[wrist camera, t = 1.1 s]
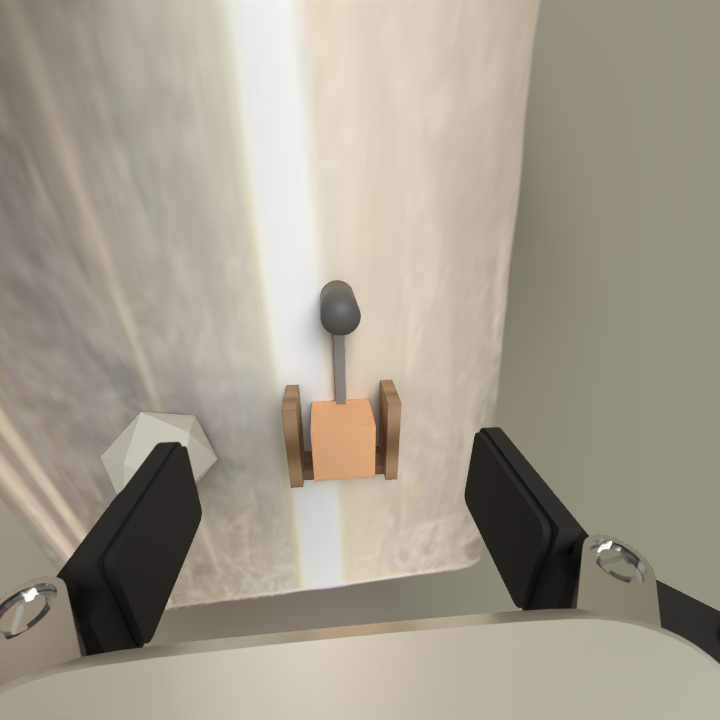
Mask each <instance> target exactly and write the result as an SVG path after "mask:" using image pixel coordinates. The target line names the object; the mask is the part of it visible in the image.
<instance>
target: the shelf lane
mask: <svg viewBox="0 0 720 720" xmlns="http://www.w3.org/2000/svg"><path fill="white" fill-rule="evenodd" d="M282 416H283V424H284V433H285V441H286V449H287V458H288V466H289V475H290V483H291V488H294V487H303V481H304V480H313V479H314V469H313V457H312V452H305V451H304V440H303V429H302V418H301V407H300V396H299V385H288V386H286V391H285V396H284V401H283V407H282ZM400 417H401V401H400V399H399V396H398V394H397V391H396V389H395V386H394V384H393V381H392V380H381V382H380V422H379V447H375V475H376V474H384V476H385V480H392V479H397V470H398V453H399V435H400Z"/></svg>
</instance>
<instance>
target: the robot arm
mask: <svg viewBox="0 0 720 720" xmlns="http://www.w3.org/2000/svg"><path fill="white" fill-rule="evenodd" d="M465 501H466V504H467V507H468V509H469V511H470V513H471V515H472V517H473V519H474V521H475V523H476V525H477V527H478V529H479V531H480V534H481V536H482V538H483V540H484V542H485V544H486V546H487V548H488V550H489V552H490V554H491V556H492V558H493V560H494V563H495V565H496V566H497V569H498V571H499V573H500V575H501V577H502V579H503V581H504V583H505V585H506V587H507V589H508V591H509V594H510V595H511V598H512V600H513V602H514V603H515V605H516V606H517V607H518V608H522V609H523V611H514V612H499V613H487V614H477V615H476V614H475V615H464V616H453V617H442V618H430V619H419V620H408V621H398V622H387V623H376V624H366V625H355V626H344V627H334V628H324V629H313V630H303V631H293V632H282V633H273V634H263V635H253V636H243V637H234V638H224V639H213V640H203V641H193V642H185V643H176V644H168V645H159V646H151V647H143V645H144V643H149V642H150V641H151V639H152V637H153V635H154V633H155V631H156V628H157V626H158V623H159V621H160V619H161V616H162V614H163V611H164V609H165V606H166V604H167V602H168V599H169V597H170V594H171V592H172V589H173V587H174V585H175V582H176V580H177V577H178V575H179V572H180V570H181V568H182V565H183V563H184V560H185V558H186V555H187V553H188V551H189V548H190V546H191V543H192V541H193V538H194V536H195V533H196V531H197V529H198V526H199V524H200V521H201V516H202V510H201V505H200V501H199V496H198V492H197V488H196V484H195V479H194V475H193V471H192V467H191V462H190V458H189V454H188V450H187V447H186V446H182V445H181V443H180V442H160V443H158V444H157V445H156V446H155V447H154V448H153V450H152V451H151V452H150V454H149V455H148V456H147V458H146V459H145V460H144V462H143V463H142V464H141V466H140V467H139V468H138V470H137V471H136V473H135V474H134V475H133V477H132V478H131V479H130V481H129V482H128V483H127V485H126V486H125V487H124V489H123V490H122V491H121V492H120V493H119V494H118V495H117V496H116V497H115V499H114V500H113V501H112V503H111V504H110V505H109V507H108V508H107V509H106V511H105V512H104V513H103V515H102V516H101V517H100V519H99V520H98V521H97V523H96V524H95V525H94V527H93V528H92V530H91V531H90V532H89V534H88V535H87V536H86V538H85V539H84V540H83V542H82V543H81V544H80V546H79V547H78V548H77V550H76V551H75V552H74V554H73V555H72V556H71V558H70V559H69V560H68V562H67V563H66V564H65V566H64V567H63V568H62V570H61V571H60V572H59V574H58V575H57V576H56V577H42V578H38V579H34V580H31V581H29V582H27V583H25V584H22V585H20V586H18V587H17V588H15V589H13V590H12V591H10V592H8V593H7V594H5V595H4V596H3V597H2V598H0V720H720V611H718V610H716V609H714V608H712V607H710V606H708V605H705V604H704V603H702V602H700V601H698V600H696V599H694V598H692V597H690V596H688V595H686V594H684V593H682V592H680V591H678V590H676V589H674V588H672V587H670V586H668V585H666V584H664V583H661V582H660V581H658V580H656V577H655V574H654V571H653V568H652V567H651V566H650V564H649V563H648V561H647V560H646V559H645V558H644V557H643V556H642V555H641V554H640V553H639V552H638V551H637V550H635V549H634V548H632V547H631V546H630V545H628V544H626V543H624V542H622V541H620V540H618V539H616V538H613V537H610V536H607V535H598V534H597V535H591V536H589V535H588V534H587V533H586V532H585V531H584V529H583V528H582V527H581V526H580V524H579V523H578V522H577V521H576V520H575V518H574V517H573V516H572V515H571V513H570V512H569V511H568V510H567V509H566V507H565V506H564V505H563V504H562V502H560V500H559V499H558V497H557V496H556V495H555V494H554V493H553V491H552V490H551V489H550V488H549V487H548V485H547V484H546V483H545V482H544V481H543V479H542V478H541V477H540V475H539V474H538V473H537V472H536V471H535V470H534V469H533V467H532V466H531V465H530V464H529V462H528V461H527V460H526V459H525V457H524V456H523V455H522V454H521V453H520V451H519V450H518V449H517V448H516V447H515V445H514V444H513V443H512V442H511V440H510V439H509V438H508V437H507V435H505V433H504V432H503V431H502V429H501V428H498V427H493V428H482V429H481V430H480V432H479V433H476V434H475V437H474V443H473V448H472V454H471V460H470V465H469V471H468V477H467V482H466V488H465ZM142 647H143V648H142Z"/></svg>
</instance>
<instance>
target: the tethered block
mask: <svg viewBox="0 0 720 720" xmlns="http://www.w3.org/2000/svg"><path fill="white" fill-rule="evenodd" d="M360 318H361V315H360V310H359V307H358V305H357V302H356V299H355V296H354V294H353V291H352V289H351V287H350V286H349V285H348V284H347V283H345V282H343V281H337V280H336V281H331V282H329V283H328V284H326V285H325V286H324V288H323V289H322V292H321V322H322V324H323V326H324V328H325V329H326V330H327V331H328V332H330V333H332V334H333V342H334V368H335V393H336V401H319V402H312V408H311V430H310V432H311V444H312V457H313V469H314V481H321V480H334V479H346V478H359V477H371V476H375V444H376V425H375V421H374V417H373V413H372V409H371V405H370V401H369V399H353V400H346V391H345V350H344V335H347V334H349V333H351V332H353V331H354V330H355V329H356V328H357V326H358V325H359V322H360Z"/></svg>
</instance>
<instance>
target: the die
mask: <svg viewBox="0 0 720 720" xmlns="http://www.w3.org/2000/svg"><path fill="white" fill-rule="evenodd" d="M160 442H180V443H181V445H182V446H186V447H187V450H188V454H189V458H190V462H191V467H192V471H193V475H194V479H195V484H197V483H198V482H199V481H200V479H201V478H202V477H203V476H204V475H205V473H206V472H207V471H208V470H209V469H210V468H211V466H212V465H213V464H214V463H215V462H216V460H217V459H218V458H217V456H216V454H215V452H214V450H213V449H212V447H211V445H210V443H209V441H208V439H207V437H206V435H205V433H204V431H203V429H202V427H201V426H200V424H199V422H198V420H197V418H196V416H195V415H181V414H165V413H149V412H140V414H139V415H138V416H137V417H136V418H135V419H134V420H133V421H132V422H131V424H130V425H129V426H128V427H127V428H126V429H125V430H124V431H123V432H122V434H121V435H120V436H119V437H118V438H117V439H116V440H115V441H114V443H113V444H112V445H111V446H110V447H109V448H108V449H107V450H106V451H105V453H104V454H103V455H102V456H101V459H102V462H103V464H104V466H105V468H106V471H107V473H108V475H109V478H110V480H111V482H112V484H113V487H114V489H115V491H116V493H117V495H118V494H119V493H120V492H121V491H122V490H123V489H124V487H125V486H126V485H127V483H128V482H129V481H130V479H131V478H132V477H133V475H134V474H135V473H136V471H137V470H138V468H139V467H140V466H141V464H142V463H143V462H144V460H145V459H146V458H147V456H148V455H149V454H150V452H151V451H152V450H153V448H154V447H155V446H156V445H157V444H158V443H160Z"/></svg>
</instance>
